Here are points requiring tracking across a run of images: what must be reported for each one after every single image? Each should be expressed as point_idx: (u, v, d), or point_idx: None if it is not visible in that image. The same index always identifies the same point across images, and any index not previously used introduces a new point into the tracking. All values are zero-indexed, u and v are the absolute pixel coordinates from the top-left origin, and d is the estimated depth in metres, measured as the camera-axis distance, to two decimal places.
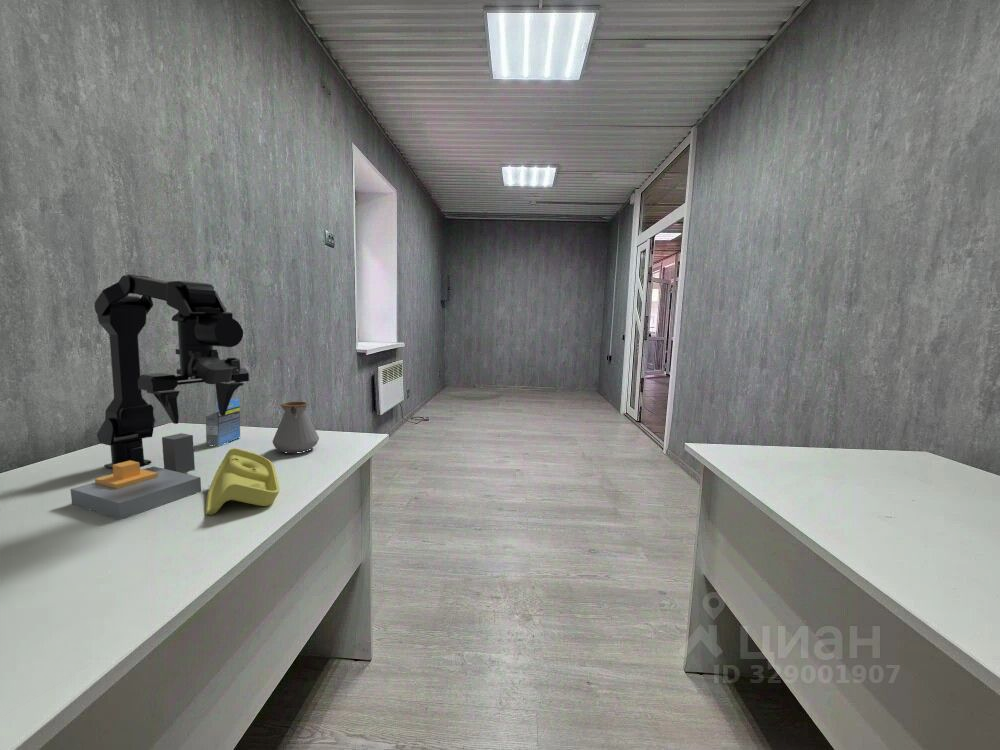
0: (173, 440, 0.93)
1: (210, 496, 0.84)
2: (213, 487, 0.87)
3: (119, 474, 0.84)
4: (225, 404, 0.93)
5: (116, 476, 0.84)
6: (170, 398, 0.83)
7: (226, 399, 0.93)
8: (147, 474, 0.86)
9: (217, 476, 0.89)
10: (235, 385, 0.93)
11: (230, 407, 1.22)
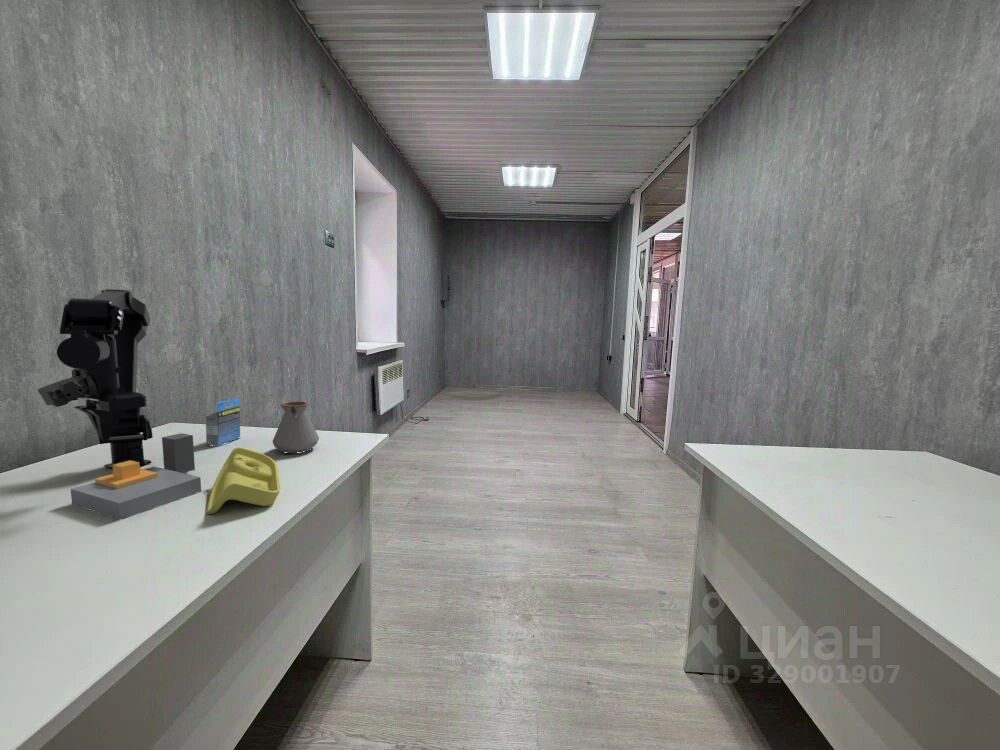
0: (173, 440, 0.93)
1: (212, 495, 0.84)
2: (216, 486, 0.87)
3: (119, 474, 0.84)
4: (99, 429, 0.86)
5: (116, 476, 0.84)
6: (86, 413, 0.85)
7: (99, 424, 0.85)
8: (147, 474, 0.86)
9: (221, 475, 0.90)
10: (88, 410, 0.83)
11: (230, 407, 1.22)
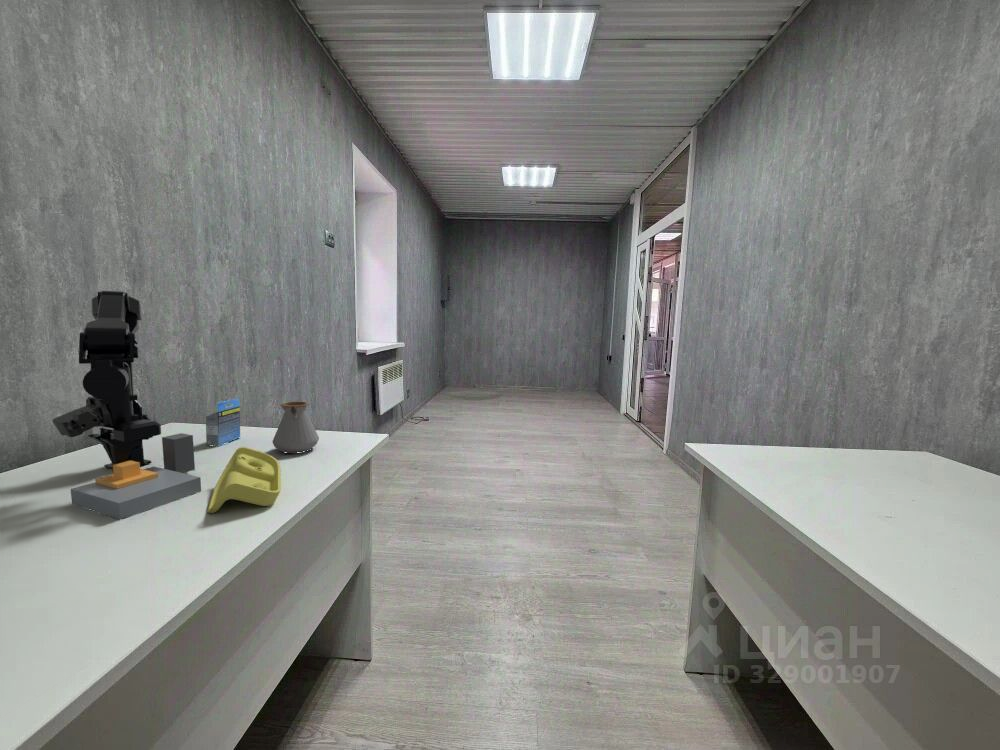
0: (173, 440, 0.93)
1: (214, 494, 0.85)
2: (219, 485, 0.88)
3: (119, 474, 0.83)
4: (113, 457, 0.85)
5: (116, 476, 0.84)
6: (100, 442, 0.84)
7: (113, 453, 0.84)
8: (147, 474, 0.86)
9: (224, 474, 0.90)
10: (103, 439, 0.82)
11: (230, 407, 1.22)
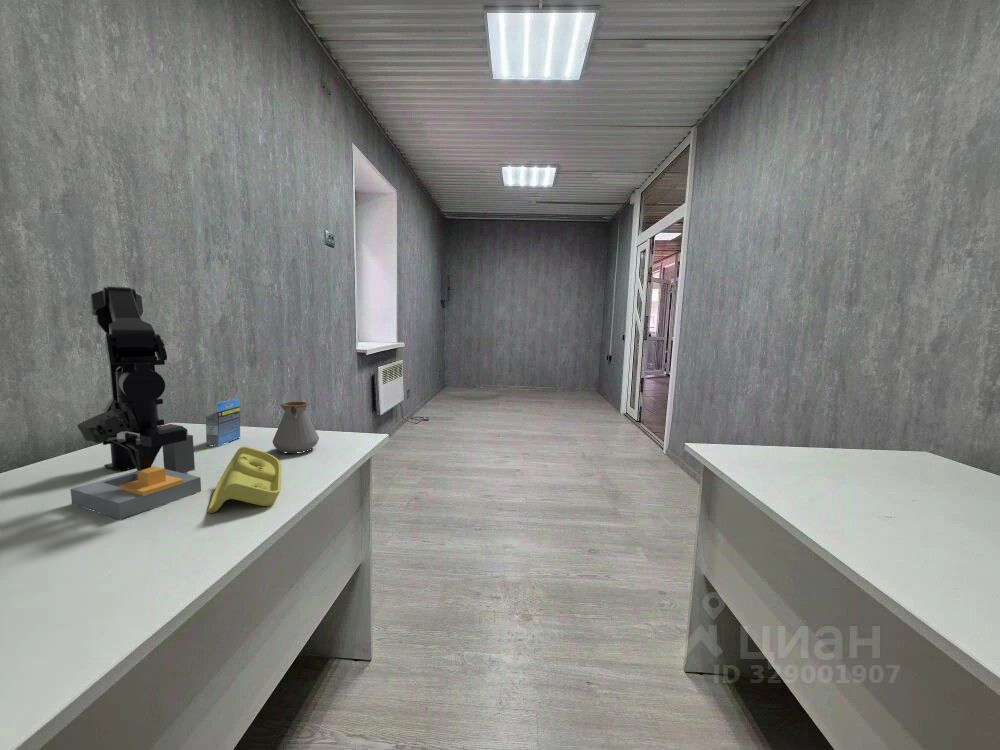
0: None
1: (215, 493, 0.85)
2: (220, 485, 0.88)
3: (145, 480, 0.81)
4: (137, 463, 0.82)
5: (141, 483, 0.81)
6: (125, 447, 0.81)
7: (138, 458, 0.81)
8: (173, 480, 0.83)
9: (225, 474, 0.90)
10: (128, 445, 0.79)
11: (230, 407, 1.22)
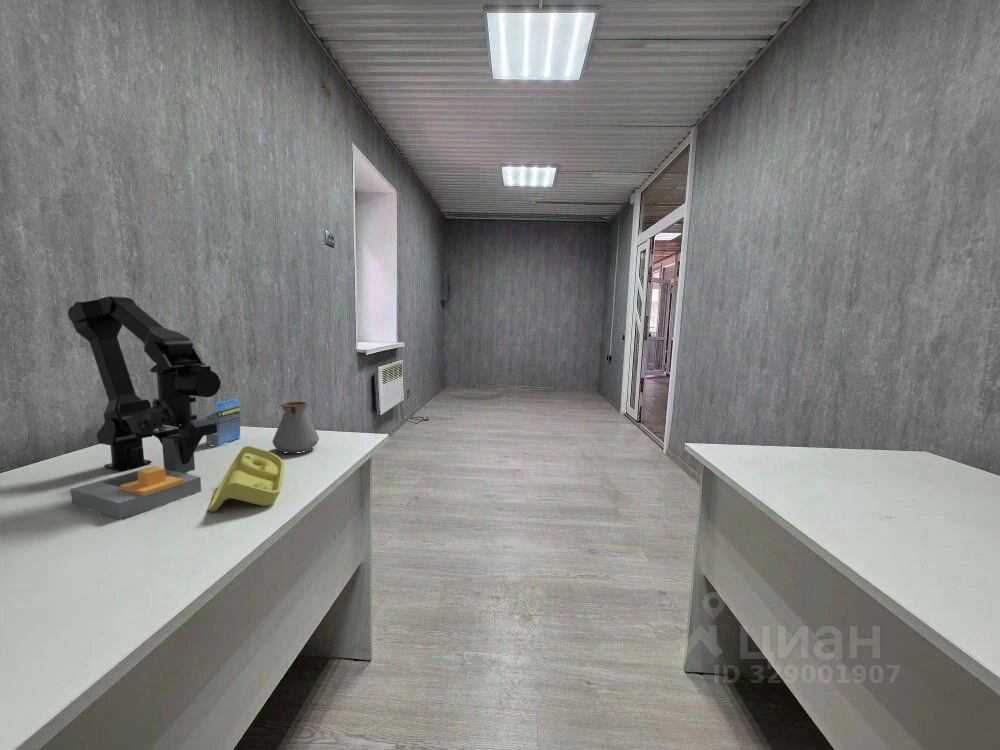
0: (173, 440, 0.93)
1: (217, 492, 0.85)
2: (223, 483, 0.88)
3: (145, 480, 0.81)
4: (180, 454, 0.94)
5: (141, 483, 0.81)
6: (158, 438, 0.95)
7: (181, 450, 0.94)
8: (173, 480, 0.83)
9: (229, 473, 0.91)
10: (174, 438, 0.92)
11: (230, 407, 1.22)
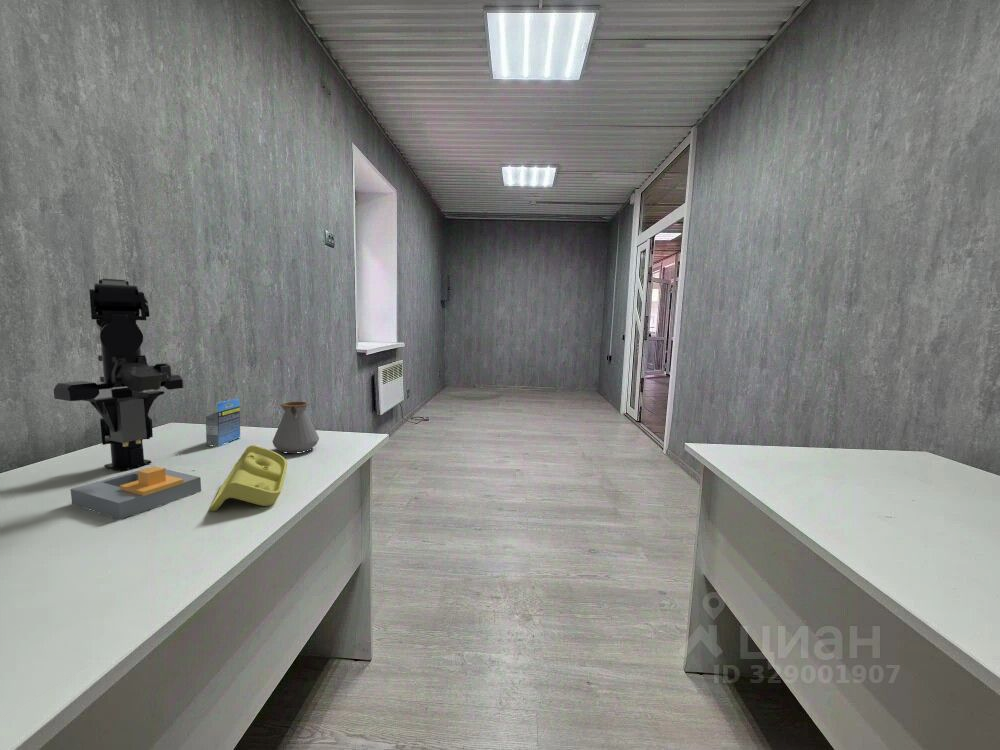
0: (142, 400, 0.85)
1: (220, 491, 0.86)
2: (226, 483, 0.89)
3: (145, 480, 0.81)
4: None
5: (141, 483, 0.81)
6: (107, 405, 0.80)
7: (145, 410, 0.86)
8: (173, 480, 0.83)
9: (233, 472, 0.92)
10: (154, 394, 0.86)
11: (230, 407, 1.22)
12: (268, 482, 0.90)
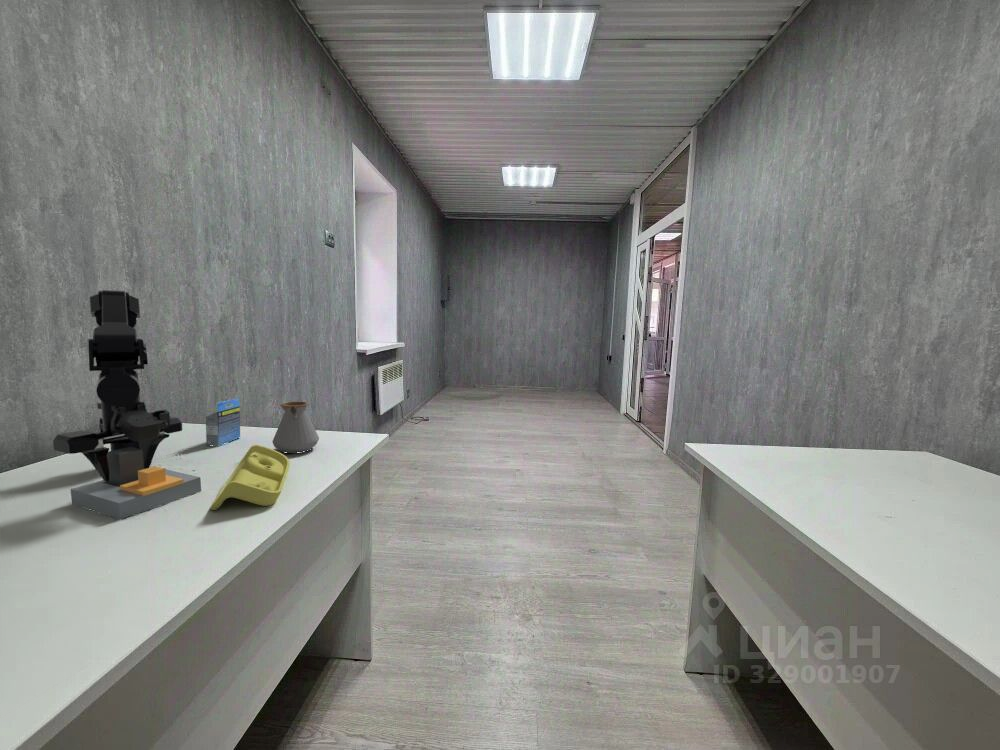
0: (141, 450, 0.86)
1: (222, 490, 0.86)
2: (229, 482, 0.89)
3: (145, 480, 0.81)
4: (149, 458, 0.88)
5: (141, 483, 0.81)
6: (99, 456, 0.79)
7: (150, 453, 0.88)
8: (173, 480, 0.83)
9: (236, 471, 0.92)
10: (159, 438, 0.88)
11: (230, 407, 1.22)
12: (270, 482, 0.90)
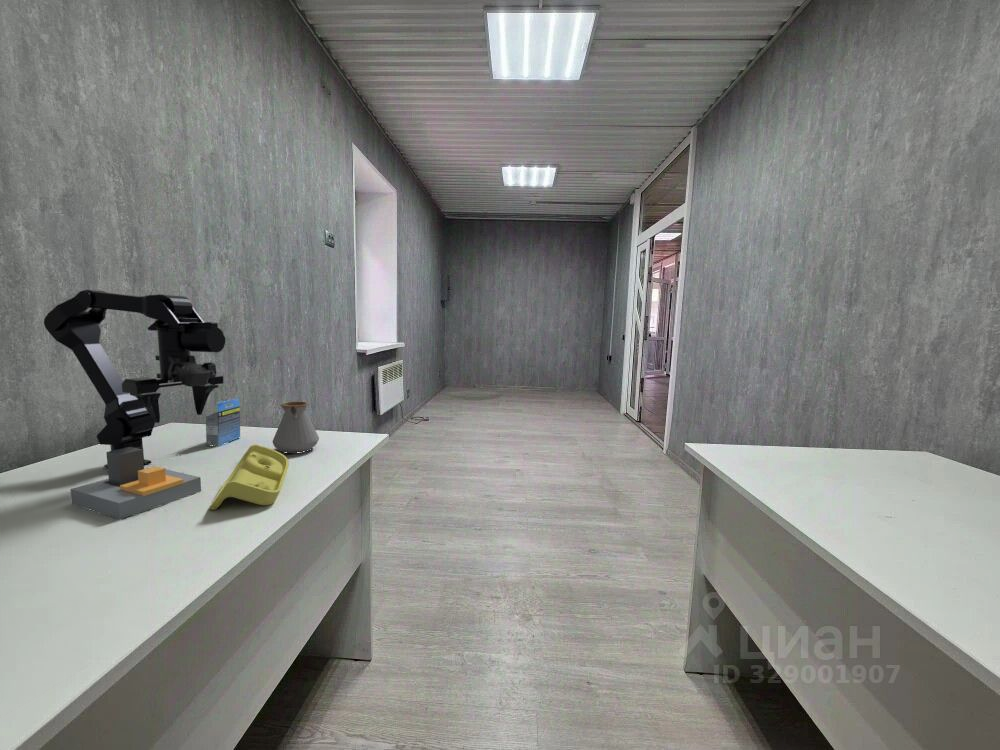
0: (141, 450, 0.86)
1: (221, 490, 0.86)
2: (228, 482, 0.90)
3: (145, 480, 0.81)
4: (202, 404, 1.03)
5: (141, 483, 0.81)
6: (152, 399, 0.92)
7: (203, 400, 1.03)
8: (173, 480, 0.83)
9: (235, 471, 0.92)
10: (211, 387, 1.03)
11: (230, 407, 1.22)
12: (269, 481, 0.90)
